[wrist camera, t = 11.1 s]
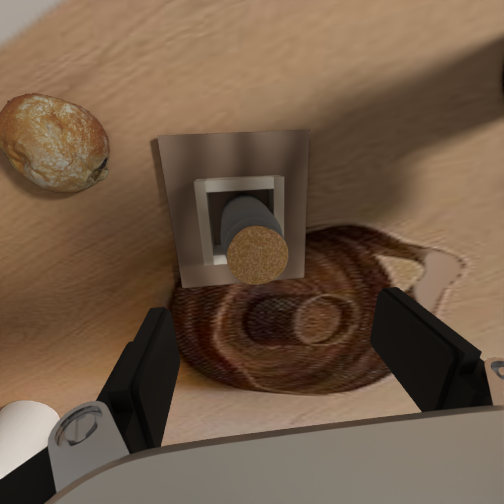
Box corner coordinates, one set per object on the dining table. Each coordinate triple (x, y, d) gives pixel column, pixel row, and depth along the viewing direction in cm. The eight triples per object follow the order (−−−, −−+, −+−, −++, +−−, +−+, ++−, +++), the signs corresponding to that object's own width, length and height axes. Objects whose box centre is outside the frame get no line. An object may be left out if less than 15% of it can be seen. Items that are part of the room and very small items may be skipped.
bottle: (216, 229, 32) (210, 282, 19) (228, 186, 31) (231, 209, 17) (258, 240, 34) (281, 298, 20) (271, 200, 32) (307, 231, 18)
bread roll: (99, 193, 34) (100, 213, 28) (-5, 165, 28) (-32, 183, 22) (117, 121, 31) (123, 127, 25) (6, 71, 25) (-22, 64, 19)
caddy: (306, 130, 30) (321, 125, 26) (301, 273, 38) (312, 290, 33) (159, 136, 29) (146, 131, 24) (183, 284, 36) (177, 303, 31)
